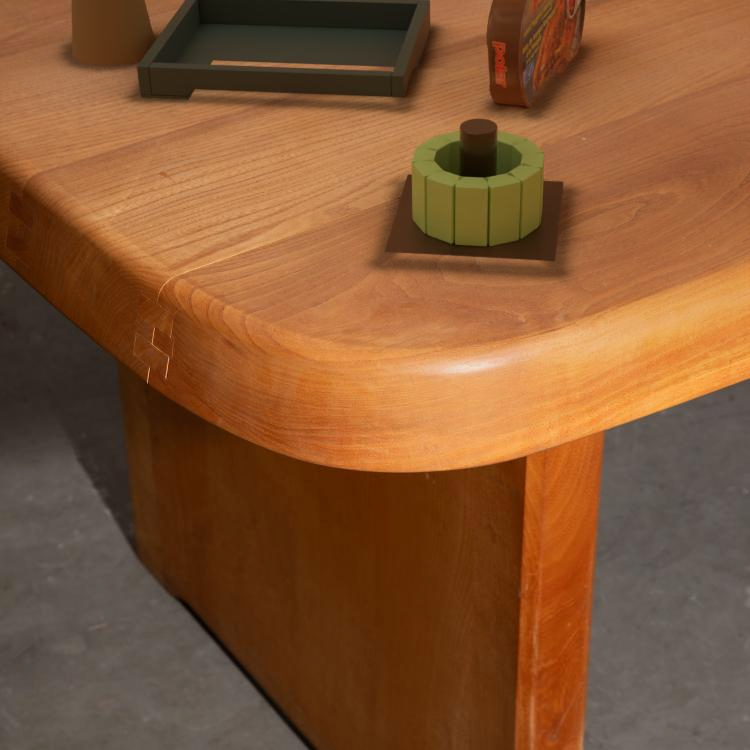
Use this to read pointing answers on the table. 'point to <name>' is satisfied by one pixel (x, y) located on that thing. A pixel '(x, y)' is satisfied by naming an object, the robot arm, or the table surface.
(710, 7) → the table surface
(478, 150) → the stand
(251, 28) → the tray
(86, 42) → the cork
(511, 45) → the tin
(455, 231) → the ring
